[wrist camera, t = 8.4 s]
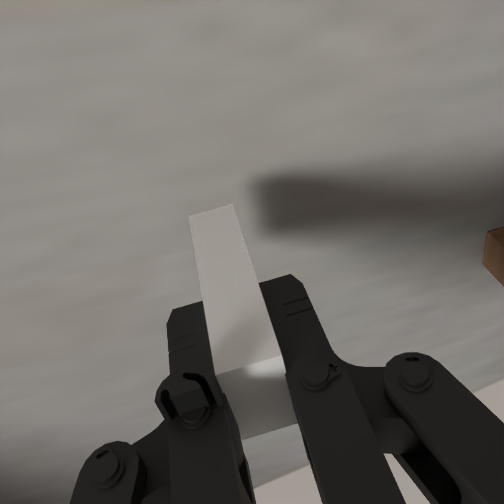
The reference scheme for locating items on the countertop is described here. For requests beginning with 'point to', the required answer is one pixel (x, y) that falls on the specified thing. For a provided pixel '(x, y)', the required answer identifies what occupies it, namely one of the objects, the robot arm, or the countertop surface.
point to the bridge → (495, 254)
